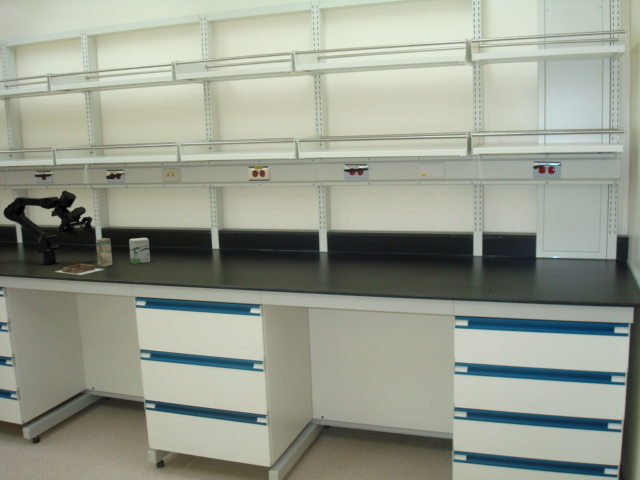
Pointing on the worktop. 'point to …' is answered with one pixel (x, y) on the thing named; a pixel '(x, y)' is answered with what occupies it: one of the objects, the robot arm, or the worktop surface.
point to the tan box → (104, 252)
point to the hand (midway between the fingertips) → (87, 235)
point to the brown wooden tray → (78, 268)
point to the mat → (82, 272)
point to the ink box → (139, 250)
